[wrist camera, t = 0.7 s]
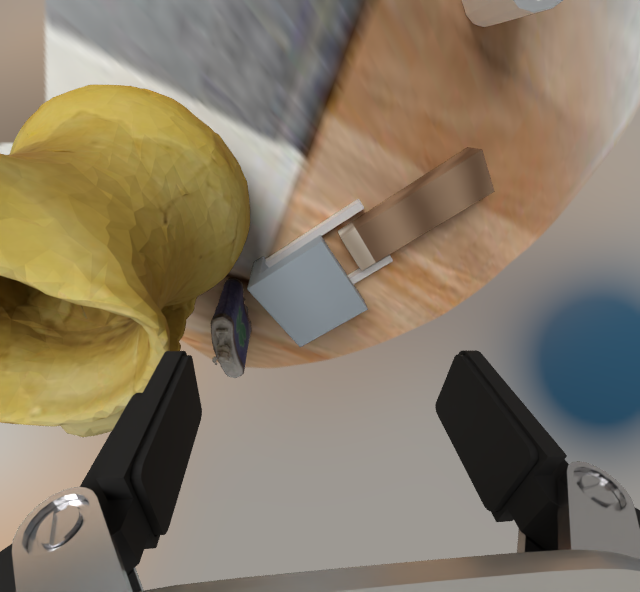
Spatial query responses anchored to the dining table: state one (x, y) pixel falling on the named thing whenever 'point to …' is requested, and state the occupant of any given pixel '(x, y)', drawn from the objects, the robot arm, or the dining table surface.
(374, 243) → the walnut slat
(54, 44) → the dining table surface
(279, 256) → the grey block with rails
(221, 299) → the flask
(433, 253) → the dining table surface
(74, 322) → the pitcher
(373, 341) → the dining table surface
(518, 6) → the white short cylinder
